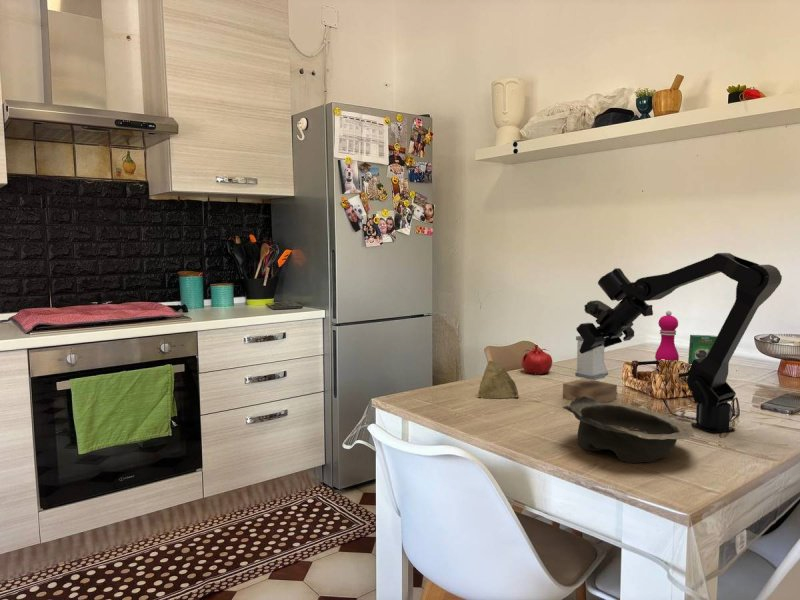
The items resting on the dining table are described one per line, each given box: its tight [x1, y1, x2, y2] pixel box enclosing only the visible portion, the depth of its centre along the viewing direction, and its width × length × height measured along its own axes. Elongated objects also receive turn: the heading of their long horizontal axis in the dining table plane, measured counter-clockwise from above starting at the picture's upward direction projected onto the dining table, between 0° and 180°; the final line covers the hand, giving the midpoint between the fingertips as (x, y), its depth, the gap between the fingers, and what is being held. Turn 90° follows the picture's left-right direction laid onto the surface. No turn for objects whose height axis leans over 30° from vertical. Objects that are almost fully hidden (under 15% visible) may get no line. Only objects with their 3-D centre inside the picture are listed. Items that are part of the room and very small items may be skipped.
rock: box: [477, 360, 520, 399], centre depth 164 cm, size 11×9×10 cm
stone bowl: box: [562, 396, 695, 464], centre depth 122 cm, size 25×25×9 cm
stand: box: [562, 378, 618, 403], centre depth 162 cm, size 10×10×4 cm
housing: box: [574, 335, 606, 381], centre depth 161 cm, size 6×5×11 cm
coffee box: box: [687, 334, 718, 364], centre depth 190 cm, size 8×3×13 cm, turn 90°
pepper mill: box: [654, 310, 680, 361], centre depth 198 cm, size 7×7×20 cm
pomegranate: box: [521, 344, 553, 375], centre depth 195 cm, size 10×10×9 cm
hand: (586, 351), depth 162 cm, fingers closed on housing, 5 cm apart
